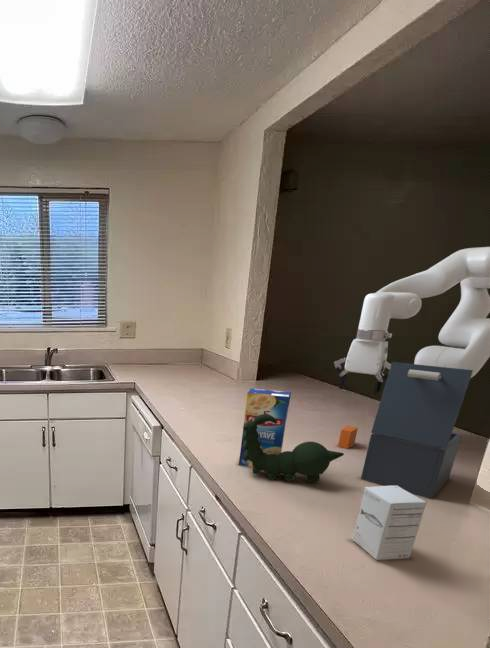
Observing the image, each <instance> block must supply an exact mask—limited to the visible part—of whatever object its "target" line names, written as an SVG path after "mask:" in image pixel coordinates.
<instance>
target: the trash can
mask: <svg viewBox="0 0 490 648" xmlns="http://www.w3.org/2000/svg"><path fill="white" fill-rule="evenodd" d="M462 436H463V434H462V433H461V434H460V433H456V432H452V434H451V437H450V440H449V443H448V446H447V449H445V448H441V447H436V446H431V445H426V444H422V443H417V442H412V441H407V440H403V439H398V438H393V437H388V436H384V435H379V434H374V433H370V438H369V442H368V446H367V451H366V455H365V459H364V464H363V467H362V471H361V477H360V480H364V481H367V482H371V483H374V484H378V485H380V486H399V487H400V488H402V489H404V490H406V491H408V492H409V493H411V494H413V495H417V496H420V497H424V498H426V499H427V498H428V499H433V497H435V495H436V494H437V493H438V492H439V490H440V489H441V488H442V487H443V486H444V485H445V484H446V482H447V481H448V480H449V479H450V476H451V472H452V469H453V466H454V464H455V459H456V457H457V454H458V450H459V446H460V443H461V441H462V438H463V437H462Z"/></svg>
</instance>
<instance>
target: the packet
mask: <svg viewBox="0 0 490 648" xmlns="http://www.w3.org/2000/svg"><path fill="white" fill-rule="evenodd" d="M358 429H359V427H357V426H352V425H346V426H345V427H343V428H341V429H340V434H339V439H338V443H337V447H339V448H342V449H343V448H344V449H350V448H351V447H353V446H354V445H355V443H356V439H357V434H358Z"/></svg>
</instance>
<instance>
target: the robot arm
mask: <svg viewBox="0 0 490 648" xmlns="http://www.w3.org/2000/svg"><path fill="white" fill-rule="evenodd" d="M459 283H460V295H461V296H460V300H459V303H458V305H457V306H456V308H455V309H454V311H453V312H452V314H451V315H450V316H449V317H448V319H447V321H446V322H445V323H444V325H443V326H442V327H441V328H440V331H439V333H438V336H437V337H438V341H439V342H440V343H441V345H429V346H425V347H423V348H421V349H420V350H418V352H417V353H416V354H415V357H414V362H413V364H417V365H427V366H436V367H446V368H456V369H465V370H473V372H472V375H471V378H470V379H472V378H473V377H475V376H476V375H477V373H479V371H480V370H481V369H482V368H483V366H484V365H485V364H486V362H487V361H488V360H489V358H490V318H487V317H488V316H489V314H490V294H489V291H488V289H490V246H481V247H469V248H463V249H459V250H456V251H455V252H453V253H451V254H450V255H449V256H447V257H445V258H444V259H442V260H441V261H439V262H437V263H436V264H434V265H433V266H431V267H429V268H428V269H426V270H423V271H420V272H417V273H414V274H412V275H409V276H406V277H403V278H400V279H398V280H395V281H393V282H391V283H388V284H387V285H385V286H383V287H382V288H380V289H379V290H377V291H376V292H371V293H368V294H367V295H365V297H364V299H363V304H362V308H361V312H360V313H361V314H360V318H359V323H358V328H357V332H356V336H355V338H354V339H353V340H352V342H351V344H350V347H349V349H348V352H347V355H346V357H344V358H340V359H338V360H335V361H334V362H333V364H334V367H335V371H336V372H337V373H338V376H339V382H338V386H339V390H343V389H345V388H346V387H347V382H348V374H349V373H357V374H365V375H372V376H373V375H374V376H375V378H376V381H375V384H374V388H373V392H372V393H373V395H378V394H380V393H381V392H382V390H383V386H384V382H385V381H387V378H388V375H389V371H390V368H391V364H392V363H390V362H388V361H387V358H388V349H389V347H388V346H389V341H387V339H392V336H393V333H391V332H388V328H389V324H390V320H391V319H396V320H405V319H406V320H407V319H410V318H412V317H415V316H416V315H417V314H418V313H419V312H420V310H421V308H422V304H423V303H422V299H426V298H431V297H435V296H439V295H442V294H444V293H445V292H447V291H448V290H450V289H451V288H453V287H455V286H456V285H457V284H459ZM343 363H345V364H344V369H343V368H342V366H341V365H342V364H343ZM385 369H388V370H389V371H388V372H387V373H386V374H384V371H385Z"/></svg>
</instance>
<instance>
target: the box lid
mask: <svg viewBox="0 0 490 648" xmlns="http://www.w3.org/2000/svg"><path fill="white" fill-rule="evenodd" d="M390 364H391V368H390V371H388V372H389V375H388V378H387V379H386V380H385V381H386V382H385V385H384V387H383V392H382V394H381V399H380V401H379V404H378V405H379V406H378V408H377V411H376V414H375V415H376V416H375V418H374V422H373V425H372V428H371V432H370V434H373V433H374V434H379V435H384V436H388V437H393V438H398V439H403V440H407V441H412V442H417V443H422V444H426V445H431V446H436V447H441V448H445V449H447V446H448V443H449V440H450V437H451V434H452V433H453V431H454V429H455V424H456V423H457V419H458V417H459V413H460V410H461V408H462V404H463V401H464V399H465V396H466V392H467V389H468V387H469V384H470V380H471V379H472V378H471V375H472V372H473V370H465V369H456V368H446V367H436V366H427V365H417V364H414V363H408V362H397V361H392V362H391V363H390Z"/></svg>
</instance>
